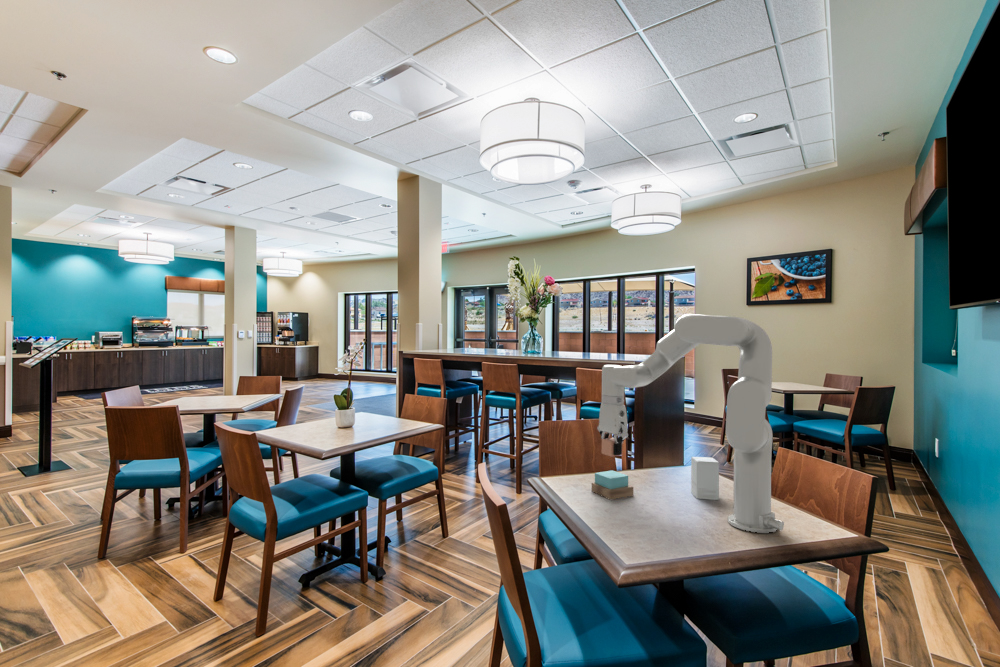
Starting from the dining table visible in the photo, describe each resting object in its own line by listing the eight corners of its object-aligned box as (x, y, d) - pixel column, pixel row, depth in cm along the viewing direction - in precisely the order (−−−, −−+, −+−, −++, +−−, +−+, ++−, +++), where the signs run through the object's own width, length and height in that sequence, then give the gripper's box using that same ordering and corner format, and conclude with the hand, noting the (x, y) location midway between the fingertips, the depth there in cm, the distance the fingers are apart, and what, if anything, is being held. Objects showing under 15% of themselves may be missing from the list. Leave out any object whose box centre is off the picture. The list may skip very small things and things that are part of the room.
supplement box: (719, 500, 156) (719, 462, 156) (696, 498, 157) (696, 461, 157) (713, 493, 163) (713, 457, 164) (690, 492, 164) (690, 456, 165)
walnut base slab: (633, 497, 160) (633, 486, 160) (610, 501, 155) (610, 490, 155) (613, 489, 169) (613, 479, 169) (591, 492, 164) (591, 482, 164)
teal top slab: (628, 486, 161) (628, 475, 161) (610, 489, 157) (610, 478, 157) (612, 480, 168) (612, 470, 168) (594, 483, 164) (594, 473, 164)
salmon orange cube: (622, 455, 161) (622, 440, 161) (611, 456, 159) (611, 441, 159) (612, 452, 166) (612, 437, 166) (601, 453, 163) (601, 439, 164)
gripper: (638, 402, 157) (637, 457, 157) (604, 397, 172) (604, 446, 172) (621, 403, 153) (620, 459, 153) (588, 398, 169) (587, 448, 168)
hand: (611, 452), depth 162 cm, fingers closed on salmon orange cube, 5 cm apart
